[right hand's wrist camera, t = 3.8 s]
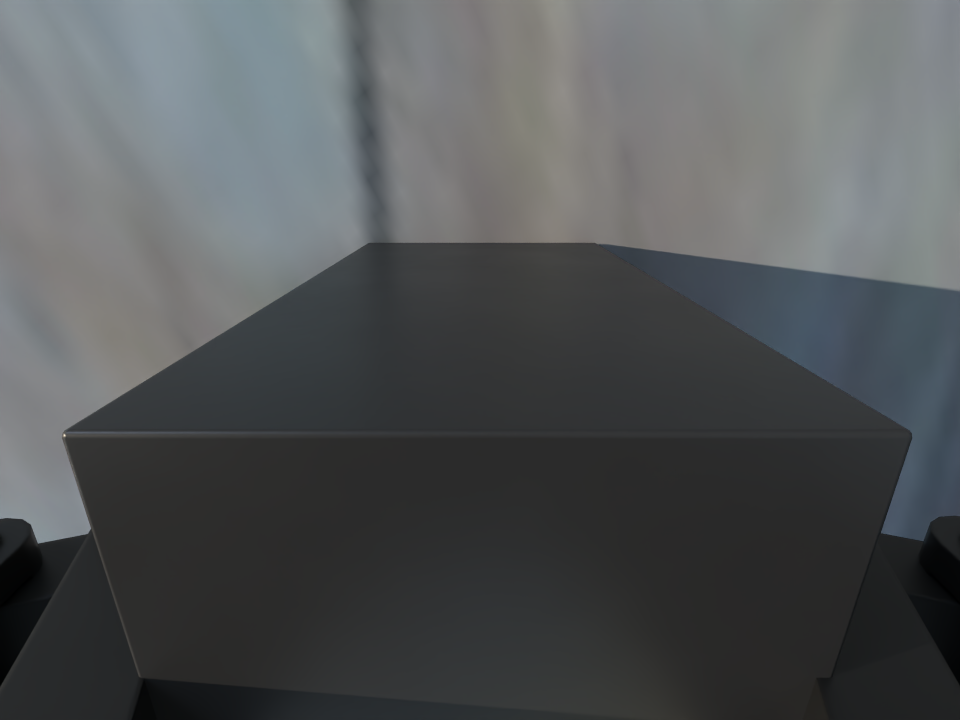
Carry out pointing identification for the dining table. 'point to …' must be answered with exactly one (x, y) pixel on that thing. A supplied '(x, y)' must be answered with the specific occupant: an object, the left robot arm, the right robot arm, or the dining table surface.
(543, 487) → the box
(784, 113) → the dining table surface
